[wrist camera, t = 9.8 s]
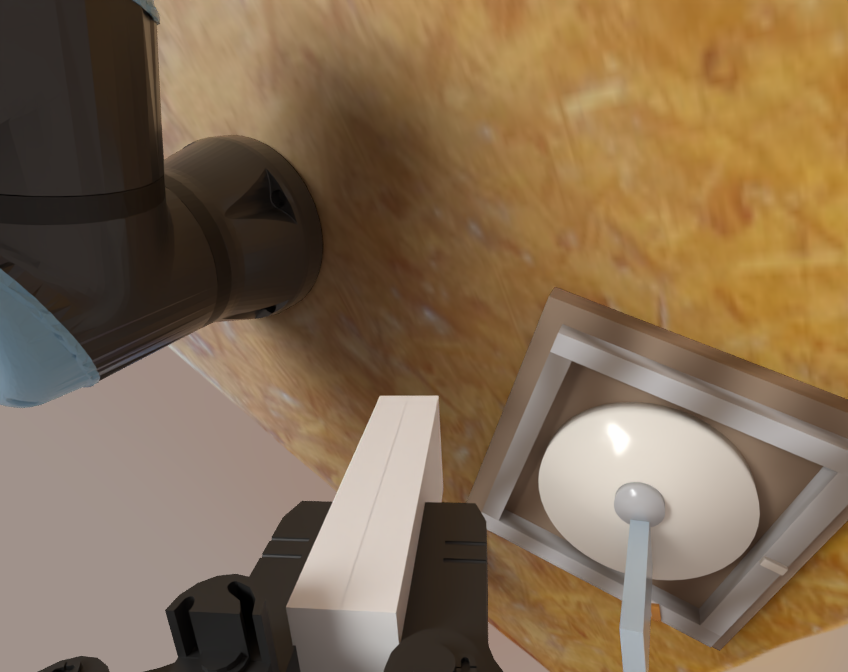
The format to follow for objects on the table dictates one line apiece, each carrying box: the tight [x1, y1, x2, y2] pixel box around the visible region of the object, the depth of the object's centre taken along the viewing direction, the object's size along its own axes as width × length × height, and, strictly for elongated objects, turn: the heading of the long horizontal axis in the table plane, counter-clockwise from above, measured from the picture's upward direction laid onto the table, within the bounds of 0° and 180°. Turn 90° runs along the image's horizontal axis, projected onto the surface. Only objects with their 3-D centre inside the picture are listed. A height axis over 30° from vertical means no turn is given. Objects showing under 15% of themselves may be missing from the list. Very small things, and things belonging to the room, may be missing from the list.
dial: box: [538, 402, 760, 672], centre depth 32 cm, size 14×14×11 cm
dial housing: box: [467, 287, 848, 651], centre depth 37 cm, size 22×22×4 cm
